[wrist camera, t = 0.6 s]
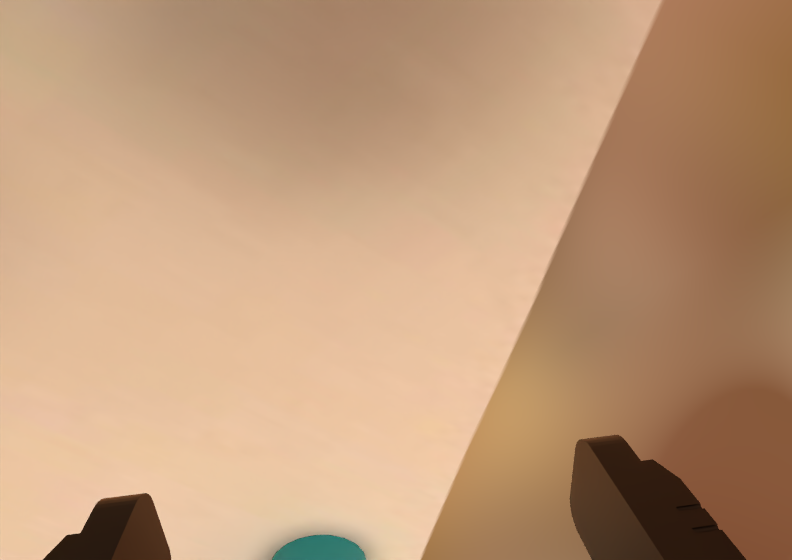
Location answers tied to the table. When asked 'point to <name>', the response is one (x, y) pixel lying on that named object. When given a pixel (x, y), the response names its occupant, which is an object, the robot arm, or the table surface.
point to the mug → (320, 549)
